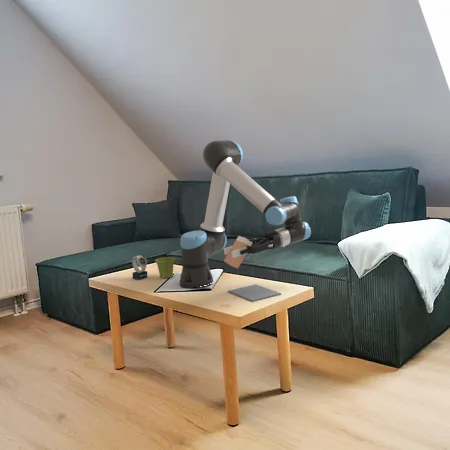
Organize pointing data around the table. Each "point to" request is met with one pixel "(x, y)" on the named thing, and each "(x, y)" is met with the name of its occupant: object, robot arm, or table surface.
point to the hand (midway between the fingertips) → (228, 253)
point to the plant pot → (165, 267)
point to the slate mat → (254, 292)
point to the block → (238, 244)
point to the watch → (139, 273)
